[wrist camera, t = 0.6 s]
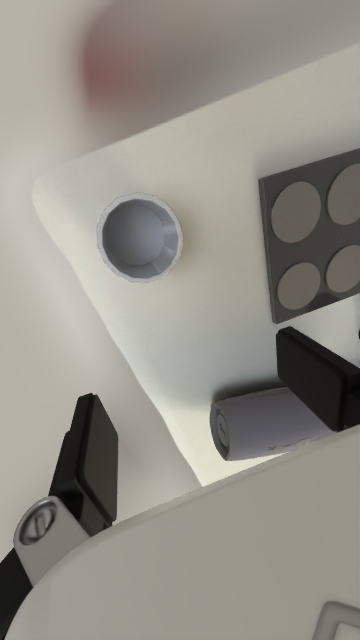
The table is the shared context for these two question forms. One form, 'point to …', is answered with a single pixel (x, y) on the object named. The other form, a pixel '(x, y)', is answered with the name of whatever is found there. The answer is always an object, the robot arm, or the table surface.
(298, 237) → the hob
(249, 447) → the bluetooth speaker
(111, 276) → the table surface
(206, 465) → the table surface
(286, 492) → the robot arm
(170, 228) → the pot
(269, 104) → the table surface
